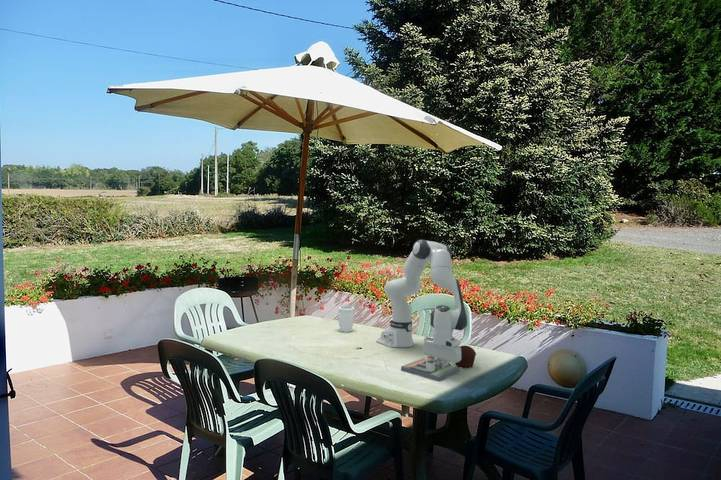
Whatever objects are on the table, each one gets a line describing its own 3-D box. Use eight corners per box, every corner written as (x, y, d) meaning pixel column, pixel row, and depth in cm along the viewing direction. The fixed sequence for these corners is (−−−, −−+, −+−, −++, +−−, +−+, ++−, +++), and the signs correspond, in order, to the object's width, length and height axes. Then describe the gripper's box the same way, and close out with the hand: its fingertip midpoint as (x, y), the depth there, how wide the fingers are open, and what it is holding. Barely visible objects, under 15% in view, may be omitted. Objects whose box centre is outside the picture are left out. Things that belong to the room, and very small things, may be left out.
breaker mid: (426, 365, 260) (426, 356, 259) (430, 364, 262) (430, 355, 262) (431, 367, 258) (431, 358, 257) (435, 365, 260) (435, 356, 260)
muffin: (460, 360, 278) (461, 342, 277) (479, 365, 271) (480, 346, 270) (449, 366, 268) (449, 346, 268) (468, 370, 261) (469, 351, 261)
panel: (401, 370, 260) (401, 364, 260) (423, 361, 274) (423, 356, 274) (438, 381, 246) (438, 375, 245) (459, 371, 260) (460, 366, 260)
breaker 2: (439, 364, 261) (440, 355, 261) (443, 363, 264) (443, 354, 263) (444, 366, 259) (445, 357, 259) (448, 364, 262) (448, 355, 261)
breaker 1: (425, 370, 253) (426, 361, 252) (429, 369, 255) (429, 359, 255) (431, 372, 251) (431, 362, 250) (434, 370, 253) (435, 361, 253)
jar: (336, 329, 340) (336, 306, 339) (351, 328, 344) (351, 305, 342) (340, 333, 330) (340, 309, 329) (356, 332, 333) (356, 308, 332)
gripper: (420, 336, 259) (420, 364, 260) (456, 344, 246) (455, 373, 247) (428, 334, 264) (427, 361, 265) (463, 342, 250) (462, 370, 251)
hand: (441, 367), depth 256 cm, fingers closed
